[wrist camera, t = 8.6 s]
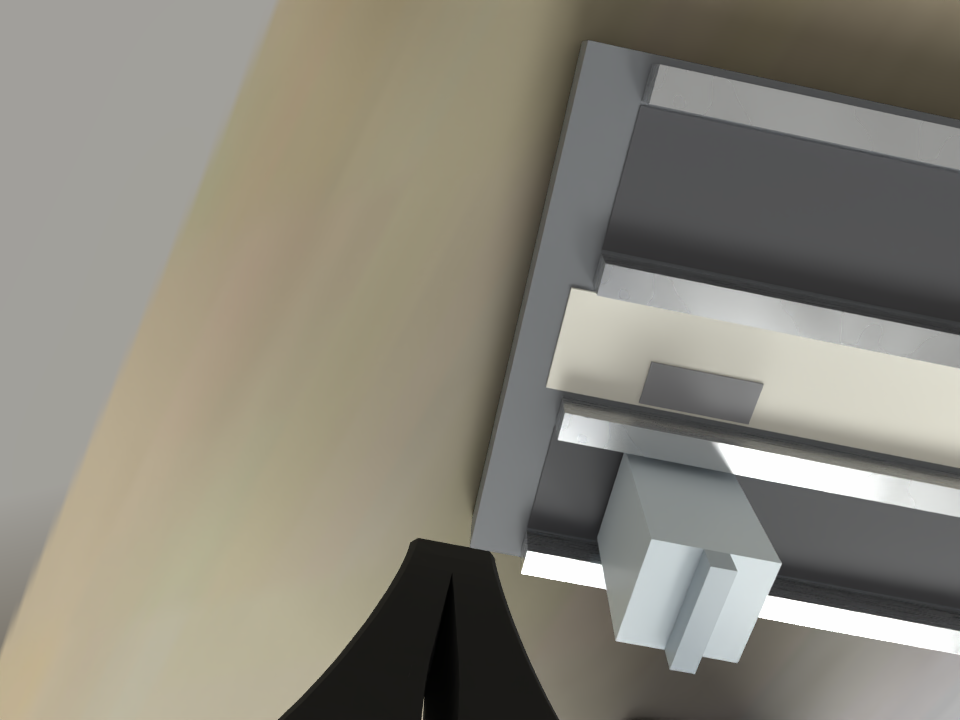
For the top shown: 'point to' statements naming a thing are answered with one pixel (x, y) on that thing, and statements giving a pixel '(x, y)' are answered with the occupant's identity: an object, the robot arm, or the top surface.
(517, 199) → the top surface
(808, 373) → the switch panel
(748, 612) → the tab
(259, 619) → the top surface
